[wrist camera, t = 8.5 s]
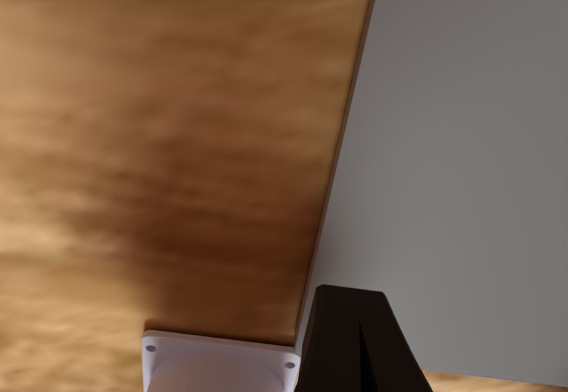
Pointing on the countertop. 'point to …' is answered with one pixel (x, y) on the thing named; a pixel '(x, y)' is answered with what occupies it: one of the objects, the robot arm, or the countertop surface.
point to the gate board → (457, 184)
